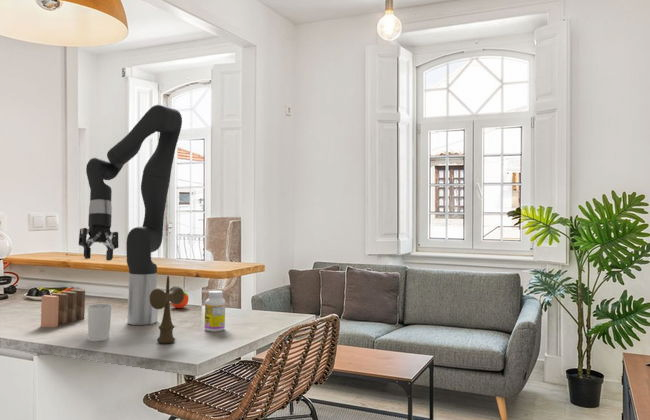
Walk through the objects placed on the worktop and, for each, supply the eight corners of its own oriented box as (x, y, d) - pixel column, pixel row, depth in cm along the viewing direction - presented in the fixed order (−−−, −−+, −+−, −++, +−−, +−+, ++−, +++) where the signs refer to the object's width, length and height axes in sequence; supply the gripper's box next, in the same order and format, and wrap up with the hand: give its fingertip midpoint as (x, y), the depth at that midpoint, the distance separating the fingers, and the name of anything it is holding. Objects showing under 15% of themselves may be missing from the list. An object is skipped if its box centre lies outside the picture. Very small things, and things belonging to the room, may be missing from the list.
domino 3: (63, 319, 190) (64, 291, 189) (75, 321, 188) (76, 292, 188) (59, 320, 188) (60, 291, 188) (72, 322, 187) (73, 292, 187)
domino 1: (44, 325, 181) (45, 295, 181) (57, 326, 180) (58, 296, 180) (40, 326, 179) (41, 295, 179) (54, 327, 178) (55, 296, 178)
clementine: (194, 308, 218) (194, 290, 218) (182, 310, 212) (183, 292, 212) (178, 306, 222) (178, 288, 222) (166, 308, 216) (167, 290, 216)
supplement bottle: (202, 328, 184) (204, 290, 184) (222, 327, 186) (223, 289, 186) (205, 332, 178) (207, 293, 178) (226, 331, 180) (227, 292, 180)
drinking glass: (93, 335, 169) (94, 303, 169) (114, 336, 169) (115, 304, 169) (82, 341, 162) (83, 307, 162) (104, 342, 162) (105, 308, 162)
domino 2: (54, 322, 185) (55, 293, 185) (67, 323, 184) (68, 294, 184) (50, 323, 183) (51, 293, 183) (63, 324, 182) (64, 294, 182)
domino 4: (71, 317, 194) (72, 289, 194) (84, 318, 193) (85, 290, 193) (68, 318, 192) (69, 290, 192) (81, 319, 191) (81, 291, 191)
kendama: (147, 344, 160) (149, 276, 160) (168, 338, 169) (170, 273, 169) (163, 347, 158) (165, 278, 158) (184, 340, 167) (186, 275, 167)
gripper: (88, 209, 186) (86, 257, 183) (124, 215, 198) (122, 260, 195) (75, 212, 190) (73, 259, 187) (110, 217, 202) (109, 261, 199)
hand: (98, 259), depth 191 cm, fingers open, 8 cm apart
